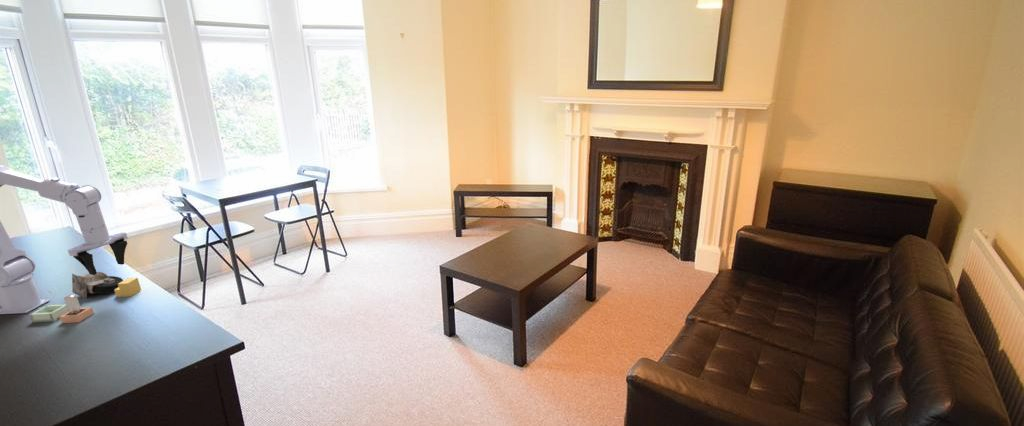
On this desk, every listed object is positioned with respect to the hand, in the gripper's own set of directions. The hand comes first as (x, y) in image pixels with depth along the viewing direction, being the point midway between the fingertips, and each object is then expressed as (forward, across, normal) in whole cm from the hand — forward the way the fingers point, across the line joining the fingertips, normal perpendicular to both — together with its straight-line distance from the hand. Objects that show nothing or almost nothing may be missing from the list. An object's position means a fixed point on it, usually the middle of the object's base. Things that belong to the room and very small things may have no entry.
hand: (107, 269), depth 144 cm
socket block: (+10, -11, -1) cm, 15 cm away
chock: (+10, +4, +1) cm, 11 cm away
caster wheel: (+11, +2, +12) cm, 16 cm away
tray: (+10, -13, +8) cm, 18 cm away
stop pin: (+10, -11, -1) cm, 15 cm away
